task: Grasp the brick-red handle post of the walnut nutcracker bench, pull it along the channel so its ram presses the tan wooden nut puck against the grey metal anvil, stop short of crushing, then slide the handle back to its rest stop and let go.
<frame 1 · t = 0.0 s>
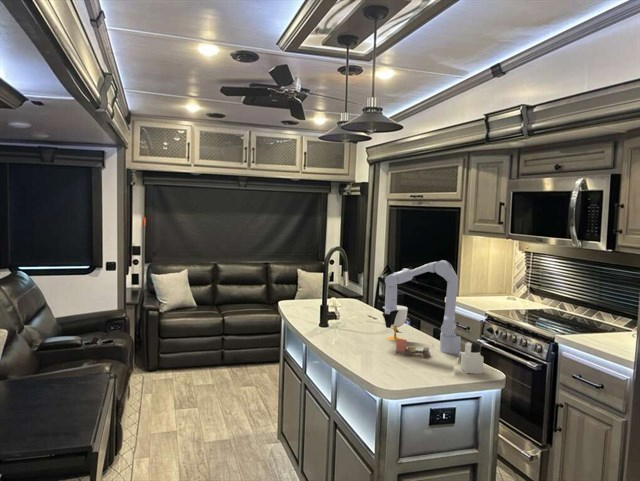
hand: (390, 326, 233), 10 cm above the countertop, tool pointing down, fingers open, 7 cm apart
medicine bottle: (471, 371, 199), on the countertop
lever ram: (401, 346, 219), point 4 cm above the countertop, slide at 0.0 cm
cracker bench: (412, 356, 217), on the countertop
cup: (394, 339, 246), on the countertop
nut puck: (411, 353, 217), point 1 cm above the countertop, touching cracker bench
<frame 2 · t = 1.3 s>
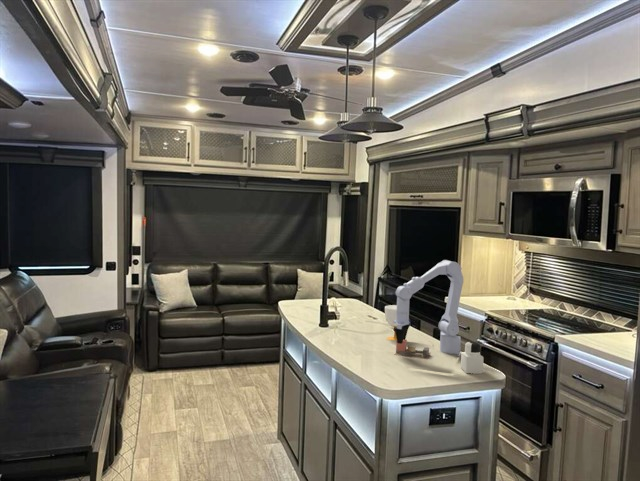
hand: (401, 341, 219), 6 cm above the countertop, tool pointing down, fingers open, 7 cm apart
nothing on the countertop moved.
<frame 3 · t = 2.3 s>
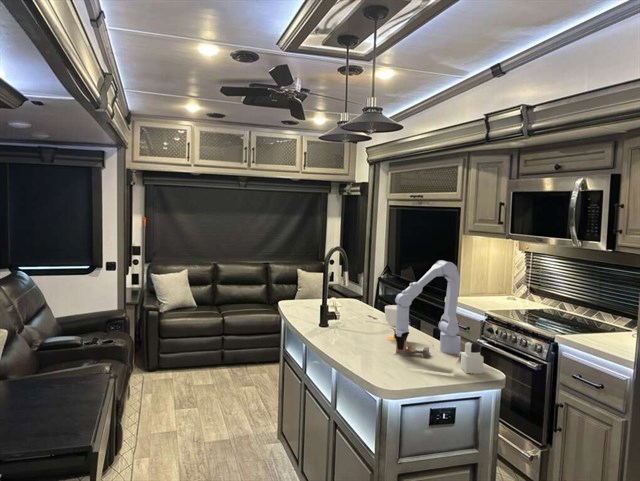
hand: (401, 348, 219), 3 cm above the countertop, tool pointing down, fingers closed on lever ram, 4 cm apart
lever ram: (401, 346, 219), point 4 cm above the countertop, slide at 0.0 cm, touching gripper
everything else where it was.
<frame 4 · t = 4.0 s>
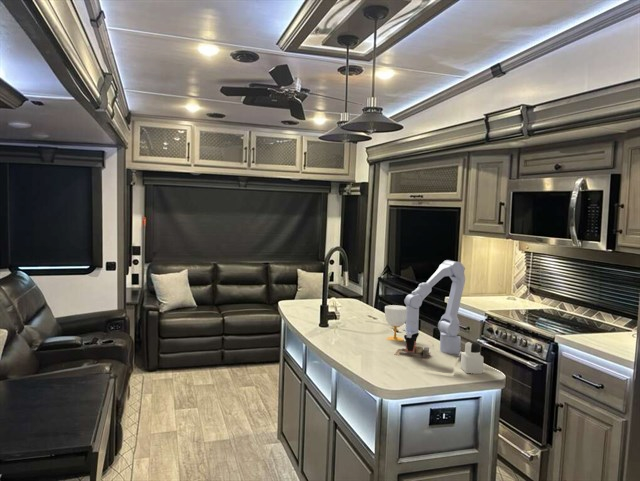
hand: (411, 349, 217), 3 cm above the countertop, tool pointing down, fingers closed on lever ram, 4 cm apart
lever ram: (410, 347, 217), point 4 cm above the countertop, slide at 4.4 cm, touching gripper, nut puck
nut puck: (418, 354, 216), point 1 cm above the countertop, touching cracker bench, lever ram
everything else where it was.
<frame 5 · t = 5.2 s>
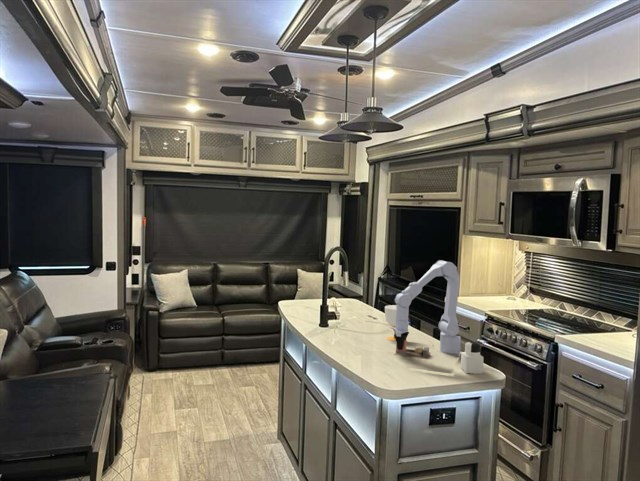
hand: (400, 348, 219), 3 cm above the countertop, tool pointing down, fingers closed on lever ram, 4 cm apart
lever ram: (401, 345, 219), point 4 cm above the countertop, slide at 0.0 cm, touching gripper
nut puck: (418, 354, 216), point 1 cm above the countertop, touching cracker bench
everything else where it was.
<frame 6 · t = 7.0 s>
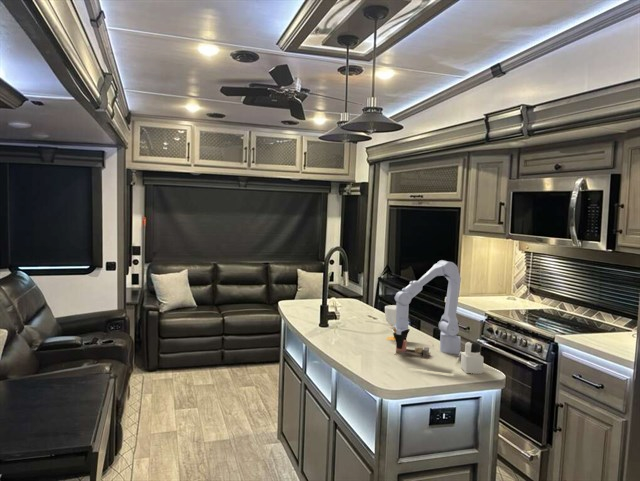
hand: (401, 346, 219), 4 cm above the countertop, tool pointing down, fingers open, 7 cm apart
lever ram: (401, 346, 219), point 4 cm above the countertop, slide at 0.0 cm
everything else where it was.
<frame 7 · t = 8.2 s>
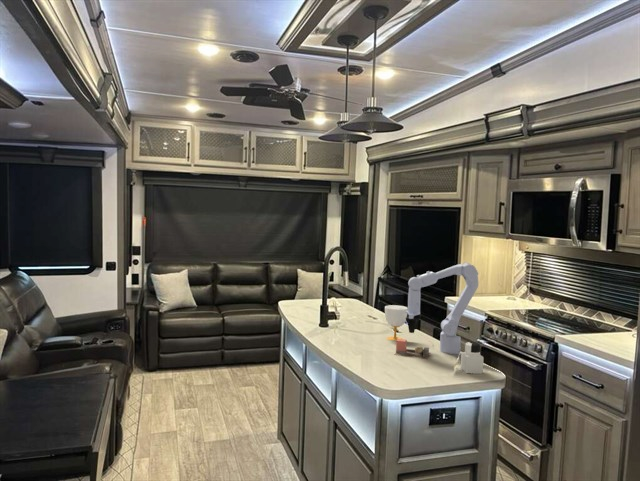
hand: (413, 330, 225), 10 cm above the countertop, tool pointing down, fingers open, 7 cm apart
nothing on the countertop moved.
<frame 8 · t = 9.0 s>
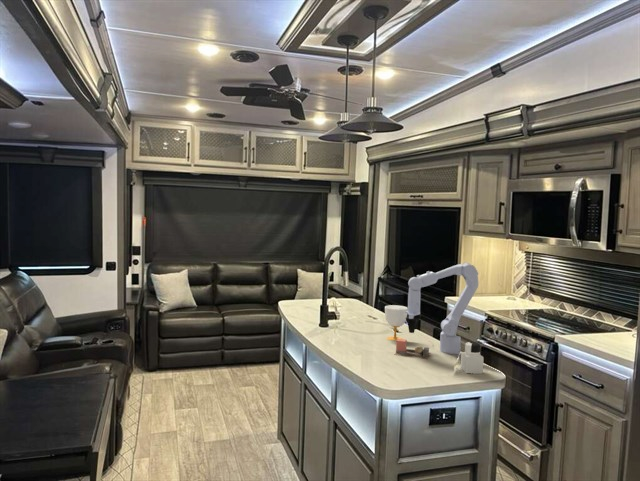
hand: (413, 330, 225), 10 cm above the countertop, tool pointing down, fingers open, 7 cm apart
nothing on the countertop moved.
at the end: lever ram slide at 0.0 cm; nut puck 0.2 cm from the target spot on the cracker bench, point 1.3 cm above the cracker bench's base; the gripper is holding nothing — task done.
